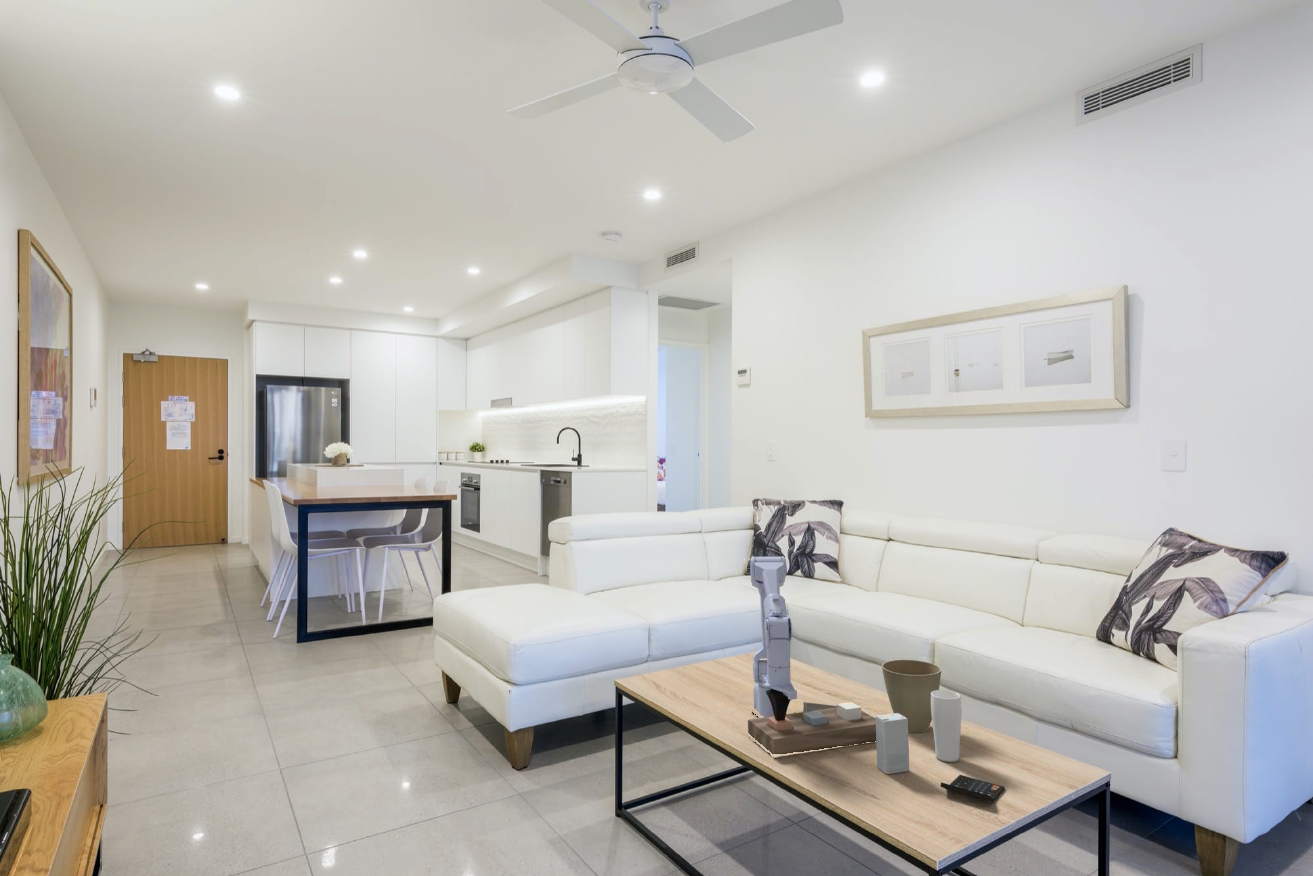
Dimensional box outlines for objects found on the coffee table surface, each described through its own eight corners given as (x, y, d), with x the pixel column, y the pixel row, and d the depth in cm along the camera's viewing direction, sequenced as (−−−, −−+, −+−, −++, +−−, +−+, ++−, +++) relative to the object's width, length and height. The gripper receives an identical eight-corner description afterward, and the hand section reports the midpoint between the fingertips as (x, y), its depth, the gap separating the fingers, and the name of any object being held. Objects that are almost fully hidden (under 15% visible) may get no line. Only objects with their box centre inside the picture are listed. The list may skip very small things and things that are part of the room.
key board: (748, 737, 183) (747, 719, 183) (852, 722, 192) (851, 705, 193) (773, 758, 170) (773, 739, 170) (884, 741, 179) (883, 722, 179)
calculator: (1005, 790, 152) (1004, 776, 152) (987, 811, 143) (987, 796, 143) (959, 778, 158) (959, 764, 158) (940, 797, 150) (940, 782, 150)
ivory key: (837, 717, 186) (836, 703, 186) (851, 715, 187) (851, 701, 187) (846, 723, 181) (846, 709, 182) (861, 721, 183) (861, 707, 183)
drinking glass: (944, 766, 164) (942, 700, 165) (926, 754, 171) (924, 691, 171) (969, 762, 166) (967, 697, 166) (950, 751, 172) (948, 688, 173)
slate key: (803, 726, 182) (803, 712, 183) (818, 724, 184) (818, 710, 184) (812, 732, 178) (811, 718, 178) (827, 730, 180) (827, 716, 180)
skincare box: (899, 764, 165) (897, 711, 166) (910, 772, 161) (909, 718, 161) (875, 767, 164) (874, 714, 164) (886, 775, 159) (885, 721, 160)
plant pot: (916, 714, 197) (914, 656, 198) (955, 733, 183) (954, 671, 184) (871, 722, 192) (870, 662, 193) (908, 742, 178) (906, 677, 179)
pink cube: (768, 731, 179) (767, 717, 180) (783, 729, 181) (783, 715, 181) (776, 738, 175) (776, 723, 175) (792, 735, 177) (792, 721, 177)
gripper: (751, 659, 184) (752, 712, 184) (778, 674, 170) (779, 732, 170) (776, 656, 186) (777, 709, 186) (804, 671, 173) (805, 728, 172)
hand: (779, 719), depth 178 cm, fingers closed, pressing on pink cube
